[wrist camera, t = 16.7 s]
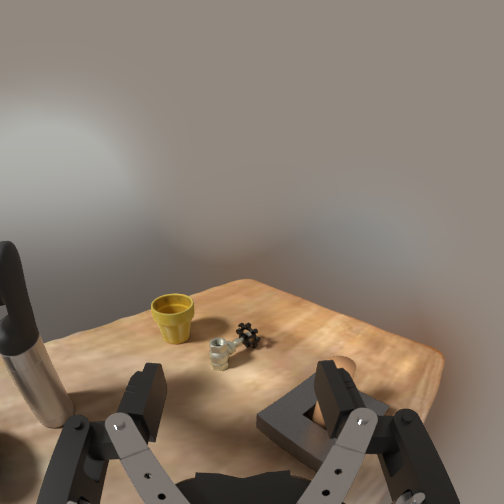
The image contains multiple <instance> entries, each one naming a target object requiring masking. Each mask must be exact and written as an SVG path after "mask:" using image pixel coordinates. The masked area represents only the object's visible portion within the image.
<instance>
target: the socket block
mask: <svg viewBox="0 0 504 504" xmlns="http://www.w3.org/2000/svg"><path fill="white" fill-rule="evenodd" d="M315 374H316V372H315V373H314V374H313V375H312V376H310V377H309V378H308V379H306V380H305V381H304V382H302V383H301V384H300V385H298V386H297V387H296V388H294V389H293V390H292V391H290V392H289V393H287V394H286V395H284V396H283V397H282V398H280V399H279V400H277V401H276V402H274V403H273V404H271V405H270V406H268V407H267V408H265V409H264V410H262V411H261V412H259V413H258V414H257V423H256V428H258V429H259V430H260V431H261V432H263V433H264V434H265V435H266V436H268V437H269V438H270V439H271V440H273V441H274V442H275V443H276V444H278V445H279V446H280V447H282V448H283V449H284V450H286V451H287V452H288V453H290V454H291V455H293V456H294V457H295V458H297V459H298V460H299V461H301V462H302V463H304V464H305V465H307V466H308V467H310V468H311V469H313V470H314V471H316V472H318V470H319V469H320V467H321V466H322V464H323V462H324V461H325V459H326V457H327V455H328V454H329V452H330V450H331V448H332V447H333V445H334V444H335V443H336V441H337V438H333V439H330V438H329V435H328V432H327V430H325V429H324V428H322V427H321V426H319V425H317V424H316V423H314V422H313V421H311V420H310V419H311V418H312V417H313V414H314V410H315V406H316V402H317V398H316V395H315V391H314V379H315ZM358 392H359V394H360V396H361V398H362V400H363V402H364V404H365V406H366V408H368V409H371V410H372V411H374V412H375V413H376V415H379V416H385V415H386V413H387V411H388V409H389V407H390V406H388V405H386V404H384V403H382V402H380V401H378V400H376V399H374V398H372V397H370V396H368V395H366V394H364V393H362V392H360V391H358Z"/></svg>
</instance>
